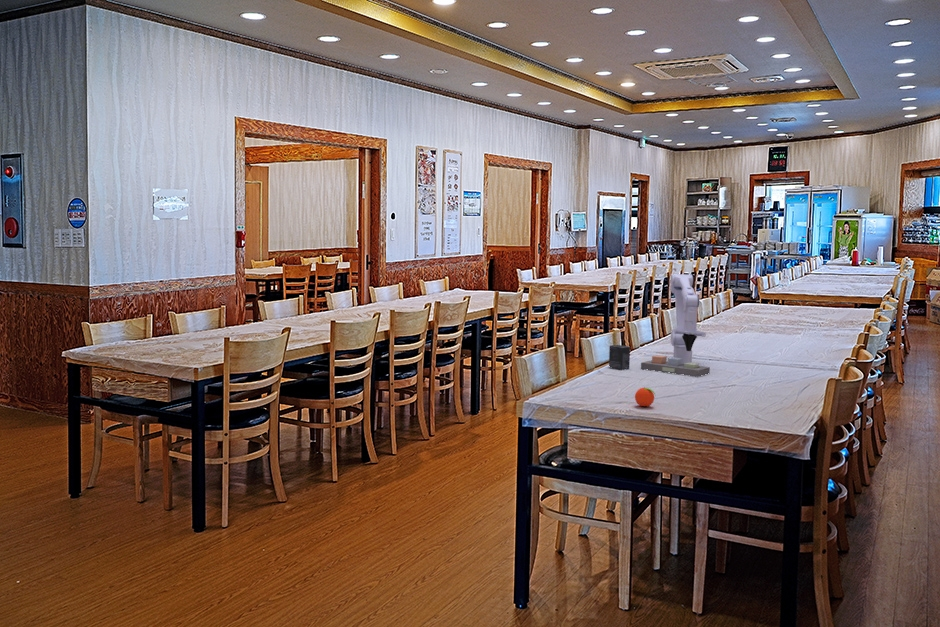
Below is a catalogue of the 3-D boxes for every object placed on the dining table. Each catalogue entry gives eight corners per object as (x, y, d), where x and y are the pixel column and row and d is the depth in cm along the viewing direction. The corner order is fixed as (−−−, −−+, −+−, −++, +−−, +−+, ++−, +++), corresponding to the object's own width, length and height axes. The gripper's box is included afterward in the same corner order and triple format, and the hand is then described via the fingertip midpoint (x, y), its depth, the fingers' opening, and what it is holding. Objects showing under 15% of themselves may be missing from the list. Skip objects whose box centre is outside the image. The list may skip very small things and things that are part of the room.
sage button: (688, 371, 376) (689, 362, 375) (698, 372, 373) (698, 363, 372) (683, 372, 372) (684, 363, 372) (693, 374, 369) (694, 364, 369)
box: (629, 369, 382) (630, 346, 380) (621, 370, 378) (622, 347, 377) (616, 366, 388) (617, 344, 386) (608, 367, 384) (609, 345, 383)
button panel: (653, 366, 391) (653, 359, 391) (709, 373, 373) (709, 367, 373) (640, 369, 382) (640, 362, 382) (697, 377, 364) (697, 370, 363)
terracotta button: (656, 364, 386) (657, 355, 386) (666, 365, 383) (666, 356, 382) (651, 365, 382) (652, 356, 382) (661, 366, 379) (661, 357, 379)
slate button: (672, 366, 381) (673, 357, 380) (682, 367, 378) (682, 358, 377) (667, 367, 377) (668, 358, 377) (677, 368, 374) (677, 359, 374)
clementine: (660, 407, 300) (660, 387, 300) (650, 410, 295) (651, 390, 295) (640, 403, 306) (641, 384, 305) (630, 406, 301) (631, 387, 300)
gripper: (671, 320, 378) (670, 349, 379) (701, 323, 369) (699, 353, 370) (678, 319, 383) (677, 348, 385) (708, 322, 374) (706, 351, 375)
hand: (688, 350), depth 378 cm, fingers closed
